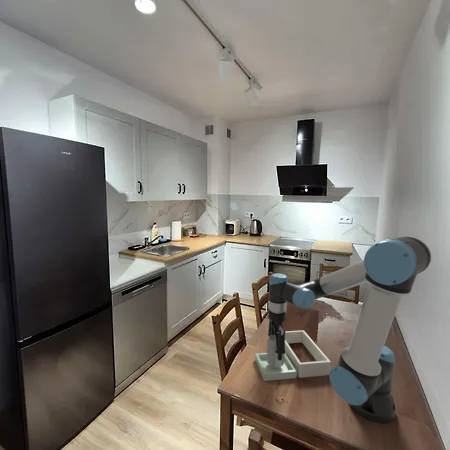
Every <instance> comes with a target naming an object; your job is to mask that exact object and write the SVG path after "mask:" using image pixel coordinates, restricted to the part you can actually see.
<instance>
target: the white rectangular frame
mask: <svg viewBox="0 0 450 450" xmlns="http://www.w3.org/2000/svg"><path fill="white" fill-rule="evenodd" d="M295 343H296V344H298V343H301V344H303V346H304V347H305V348H306V349H307V351H308V352H309V353H310V354H311V355H312V357H313V358H314V360H315V361H305V362H301V361H300V359H299V358H298V357H297V355H296V353H295V352H294V351H293V349H292V347H291V346H290V344H295ZM285 353H286V355H287V356H288V358H289V359H290V361H291V363H292V364H293V366H294V367H295V369H296V371H297V378H310V377H311V378H312V377H322V376H324V377H325V376H329V373H330V371H331V364H332V362H331V360H330V358H328V357H327V355H325V353H324V352H323V351H322V350H321V349H320V348H319V347H318V345H317V344H316V343H315V342H314V340H313V339H312V338H311V337H310V336H309V334H308V333H306V331H305V330H290V331H286V330H285Z"/></svg>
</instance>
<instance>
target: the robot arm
mask: <svg viewBox="0 0 450 450" xmlns="http://www.w3.org/2000/svg"><path fill="white" fill-rule="evenodd" d="M431 261H432V253H431V250H430V248H429V247H428V245H427V244H425V242H423V241H422V240H421V239H418V238H417V237H412V236H400V237H395V238H389V239H382V240H380V241H378V242H376V243H375V244H373V245H371V246H370V247H369V248H368V249H367V251H366V252H365V254H364V258H363V259H362V260H360V261H357V262H355V263H353V264H350V265H348V266H345V267H343V268H340V269H338V270H336V271H333V272H330V273H328V274H326V275H323V276H320V277H317V278H315V279H313V280H309V281H307V282H304V283H300V284H294V283H292V282H290V281H289V277H288V275H286V274H284V273H280V272H279V273H271V275H270V276H269V283H268V306H267V307H268V313H267V314H268V315H267V316H268V317H267V318H268V331H267V333H268V334H267V335H268V337H269V336H270V335H273V334H274V335H275V336H276V347H277V351H275V353H276V360H275V366H276V367H278V366H282V354H285V331H286V329H283V327H284V325H283V323H284V322H285V321H286V319H287V305H288V303H289V304H291V305H294V306H296V307H298V308H300V309H301V308H302V309H306V310H308V309H310V308H311V307H312V306H313V304H314V303H315V300H316V301H317V300H319V299H321V298H324V297H327V296H330V295H332V294H336V293H339V292H342V291H345V290H348V289H351V288H354V287H357V286H361V285H362V284H364V285H365V284H366V283H367V284H368V285H367V289H366V291H365V295H364V298H363V301H362V303H361V307H360V311H359V314H358V317H357V321H356V323H355V327H354V330H353V332H352V336H351V339H350V343H349V345H348V346H345V347H344V348H343V349H342V350H341V353H340V356H339V359H338V361H337V363H336V365H334V366H332V368H330V373H329V375H328V376H329V382H330V385H331V386H332V387H333V390H334V392H335V393H336V395H338V396H339V398H341V400H343V401H344V402H345V403H347V404H349V405H350V407H351V408H352V409H353V410H354V411H355V413H358V415H360V416H362V417H363V418H365V419H367V420H369V421H372V422H375V423H379V424H383V423H384V424H385V423H386V424H387V423H390V422H392V421H393V420H394V419H395V417H396V410H397V408H396V404H395V401H394V397H393V392H392V386H393V379H394V378H393V377H394V368H395V367H394V366H395V362H396V361H395V354H394V352H393V350H392V349H390V348H389V347H388V346H386V345H385V343H386V341H387V338H388V335H389V332H390V331H391V330H390V329H391V327H392V324H393V322H394V319H395V316H396V313H397V310H398V308H399V304H400V302H401V298H402V297H403V296H405V295H407V296H408V295H409V294H411V291H412V288H413V286H414V283H415V281H416V278H417V275H419V274H421V273H423V272H424V271H425V270H426V269H427V268H428V267H429V266H430V264H431Z"/></svg>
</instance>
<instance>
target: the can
mask: <svg viewBox="0 0 450 450" xmlns="http://www.w3.org/2000/svg"><path fill="white" fill-rule="evenodd" d="M266 341H267V343H266V353H267V363H268V364H269V365H270V366H272V367H275V368H279V367H281V366H278V367H276V366H275V360H276V353H275V351H277V347H276V336H275V335H274V334H273V335H270V336H268V338H267V340H266ZM283 365H284V354H282V366H283Z"/></svg>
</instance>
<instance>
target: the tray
mask: <svg viewBox="0 0 450 450" xmlns="http://www.w3.org/2000/svg"><path fill="white" fill-rule="evenodd" d="M254 356H255V358H254V359H255V363H256V365H257V368H258V369H259V372H260V375H261V377H262V379H263V381H264V382H269V381H278V380H289V379H292V380H293V379H297V378H298V376H297V371H296V369H295V367H294V366H293V364H292V363H291V361H290V359H289V358H288V356H287V355H286V353H285V354H284V365H283V366H281V367H279V368H275V367H272V366H270V365H269V364H268V363H267V352H261V353H255V355H254Z"/></svg>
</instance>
